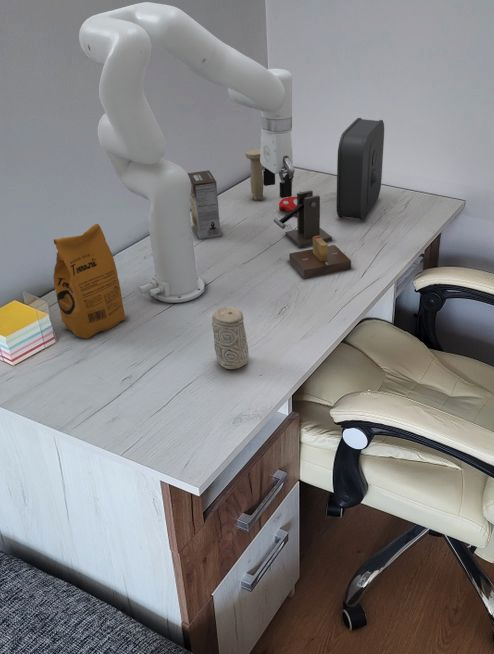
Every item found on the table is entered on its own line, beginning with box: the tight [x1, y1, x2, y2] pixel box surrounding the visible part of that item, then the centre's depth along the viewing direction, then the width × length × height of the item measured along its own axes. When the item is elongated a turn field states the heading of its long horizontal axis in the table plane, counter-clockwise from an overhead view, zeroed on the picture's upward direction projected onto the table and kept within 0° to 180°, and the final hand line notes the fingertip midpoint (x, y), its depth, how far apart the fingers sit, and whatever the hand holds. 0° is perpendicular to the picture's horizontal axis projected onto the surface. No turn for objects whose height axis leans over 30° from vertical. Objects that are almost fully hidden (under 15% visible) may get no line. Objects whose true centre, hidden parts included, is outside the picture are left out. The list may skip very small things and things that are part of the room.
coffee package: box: [52, 223, 126, 340], centre depth 142 cm, size 10×12×22 cm
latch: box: [273, 193, 312, 230], centre depth 179 cm, size 12×5×2 cm
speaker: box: [336, 117, 385, 221], centre depth 196 cm, size 25×9×25 cm, turn 162°
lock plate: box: [288, 244, 352, 280], centre depth 171 cm, size 13×10×3 cm
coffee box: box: [186, 170, 221, 240], centre depth 184 cm, size 9×6×16 cm
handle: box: [245, 147, 264, 201], centre depth 205 cm, size 5×6×15 cm
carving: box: [211, 306, 249, 370], centre depth 133 cm, size 6×8×12 cm
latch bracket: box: [284, 190, 333, 249], centre depth 182 cm, size 10×9×13 cm
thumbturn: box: [312, 235, 329, 262], centre depth 169 cm, size 6×2×5 cm, turn 24°
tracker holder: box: [278, 190, 302, 216], centre depth 202 cm, size 12×4×10 cm
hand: (277, 190), depth 173 cm, fingers open, 9 cm apart
